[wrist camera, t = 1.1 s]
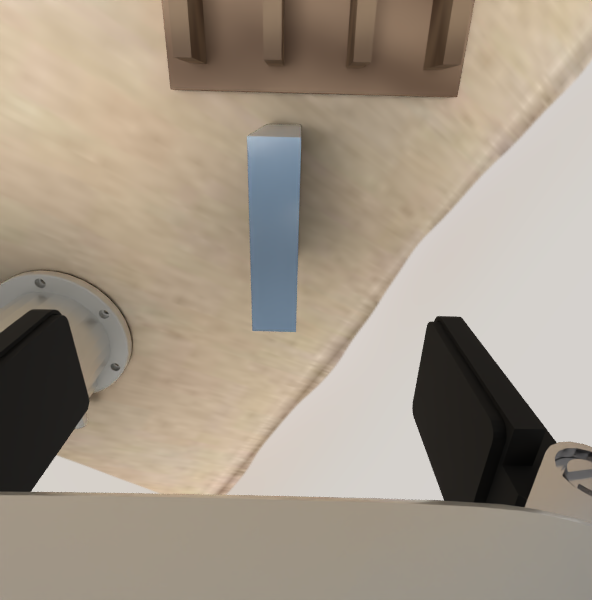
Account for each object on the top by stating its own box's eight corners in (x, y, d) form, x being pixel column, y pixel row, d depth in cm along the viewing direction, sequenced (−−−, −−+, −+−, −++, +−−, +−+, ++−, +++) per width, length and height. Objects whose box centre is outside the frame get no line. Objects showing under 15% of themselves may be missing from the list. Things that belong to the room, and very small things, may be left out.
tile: (297, 257, 33) (295, 331, 22) (268, 256, 33) (252, 330, 22) (300, 124, 28) (301, 137, 18) (267, 123, 28) (247, 136, 18)
